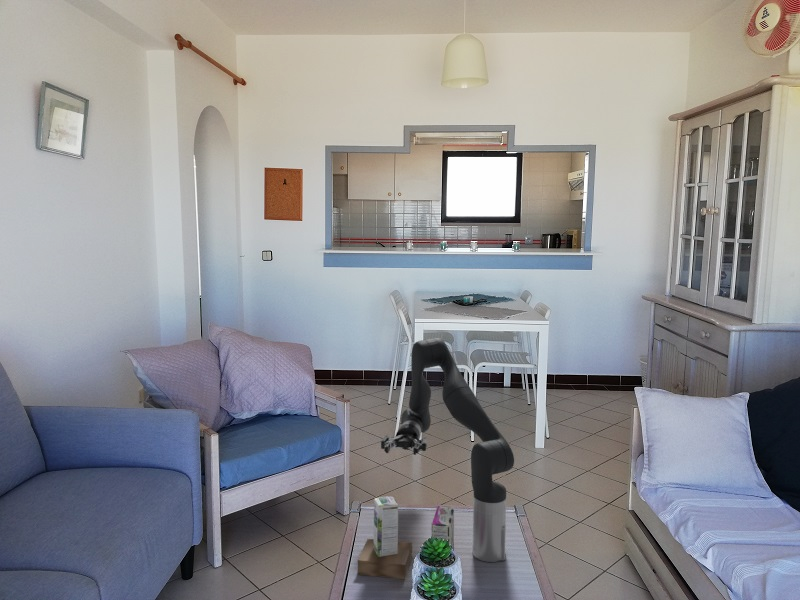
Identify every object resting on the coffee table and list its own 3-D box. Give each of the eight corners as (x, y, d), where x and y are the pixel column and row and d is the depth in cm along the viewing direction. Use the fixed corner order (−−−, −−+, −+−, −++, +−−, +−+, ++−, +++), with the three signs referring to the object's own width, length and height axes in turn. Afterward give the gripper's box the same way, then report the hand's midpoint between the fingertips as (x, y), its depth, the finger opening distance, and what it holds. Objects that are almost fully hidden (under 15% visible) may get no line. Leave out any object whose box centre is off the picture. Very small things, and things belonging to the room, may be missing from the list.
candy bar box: (436, 561, 174) (437, 505, 172) (454, 562, 173) (455, 506, 171) (430, 582, 163) (431, 523, 161) (449, 585, 162) (450, 525, 160)
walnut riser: (412, 556, 176) (412, 542, 176) (405, 579, 164) (405, 564, 164) (367, 551, 178) (367, 538, 178) (357, 574, 167) (357, 560, 166)
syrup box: (372, 547, 173) (372, 497, 172) (393, 544, 175) (393, 495, 173) (377, 557, 168) (377, 506, 166) (398, 554, 169) (399, 503, 168)
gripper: (387, 422, 205) (377, 437, 189) (430, 424, 203) (423, 440, 187) (387, 444, 206) (377, 461, 190) (430, 446, 203) (423, 464, 187)
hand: (400, 450), depth 188 cm, fingers open, 8 cm apart
